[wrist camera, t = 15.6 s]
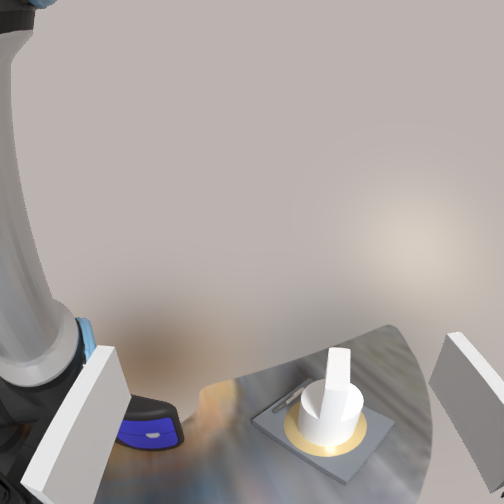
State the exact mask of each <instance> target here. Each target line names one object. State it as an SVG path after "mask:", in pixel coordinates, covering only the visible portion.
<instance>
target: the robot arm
mask: <svg viewBox="0 0 504 504" xmlns="http://www.w3.org/2000/svg"><path fill="white" fill-rule="evenodd" d="M56 1H57V0H0V504H93V503H94V500H95V497H96V494H97V490H98V487H99V484H100V481H101V479H102V476H103V473H104V470H105V467H106V464H107V461H108V458H109V456H110V453H111V450H112V447H113V444H114V442H115V439H116V436H117V434H118V431H119V428H120V425H121V423H122V420H123V418H124V415H125V412H126V410H127V407H128V405H129V402H130V399H131V395H130V392H129V389H128V386H127V384H126V381H125V377H124V374H123V371H122V368H121V365H120V362H119V359H118V355H117V352H116V349H115V347H112V346H102V345H98V346H97V347H96V344H95V339H94V335H93V331H92V326H91V323H90V321H89V320H88V319H86V318H79V317H78V318H74V316H73V314H72V313H71V312H70V310H69V309H68V308H67V307H66V306H65V305H64V304H62V303H61V302H59V301H57V300H55V299H53V298H52V295H51V292H50V290H49V287H48V284H47V282H46V279H45V275H44V272H43V269H42V266H41V263H40V260H39V257H38V253H37V250H36V246H35V243H34V239H33V236H32V232H31V228H30V224H29V220H28V216H27V212H26V208H25V203H24V198H23V193H22V188H21V183H20V177H19V171H18V165H17V158H16V151H15V143H14V134H13V123H12V109H11V83H10V82H11V79H10V78H11V76H10V75H11V62H12V60H13V58H14V56H15V55H16V54H17V52H18V51H19V50H20V49H21V48H22V46H23V45H24V44H25V43H26V42H27V41H28V40H29V38H30V37H31V36H32V34H33V25H34V17H35V11H36V9H45V8H46V7H47V6H49V5H52V4H54V3H55V2H56ZM429 385H430V386H431V388H432V390H433V391H434V392H435V394H436V396H437V397H438V399H439V401H440V403H441V404H442V406H443V408H444V409H445V411H446V413H447V414H448V416H449V417H450V419H451V421H452V423H453V424H454V426H455V428H456V430H457V431H458V433H459V435H460V437H461V438H462V440H463V442H464V444H465V446H466V447H467V449H468V451H469V453H470V455H471V457H472V458H473V460H474V462H475V464H476V466H477V468H478V470H479V472H480V474H481V475H482V478H483V479H484V481H485V483H486V485H487V487H488V489H489V491H490V493H493V492H494V491H496V490H498V489H499V488H501V487H503V486H504V382H503V380H502V379H501V378H500V377H499V375H498V374H497V373H496V372H495V371H494V369H493V368H492V367H491V366H490V365H489V364H488V362H487V361H486V360H485V359H484V358H483V357H482V355H481V354H480V353H479V352H478V351H477V350H476V349H475V348H474V346H473V345H472V344H471V343H470V342H469V341H468V340H467V339H466V338H465V336H464V335H463V334H462V333H461V332H455V333H449V334H447V335H446V338H445V341H444V343H443V346H442V349H441V352H440V355H439V357H438V360H437V363H436V365H435V368H434V370H433V373H432V375H431V378H430V381H429ZM503 497H504V492H503V493H502V496H501V498H503Z"/></svg>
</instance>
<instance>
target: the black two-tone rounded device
mask: <svg viewBox="0 0 504 504" xmlns="http://www.w3.org/2000/svg"><path fill="white" fill-rule="evenodd" d="M130 395H131V399H130V402H129V405H128V407H127V410H126V412H125V415H124V418H123V420H122V423H121V425H120V428H119V431H118V434H117V436H116V439H115V442H116V443H118V444H120V445H123V446H126V447H129V448H133V449H137V450H144V451H161V450H168V449H172V448H175V447H178V446H179V445H181V444H182V443H183V442H184V435H183V431H182V428H181V424H180V421H179V417H178V413H177V410H176V408H175V407H174V406H173V405H171V404H170V403H167V402H163V401H158V400H154V399H149V398H144V397H140V396H136V395H132V394H130Z"/></svg>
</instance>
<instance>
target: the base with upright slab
mask: <svg viewBox="0 0 504 504" xmlns="http://www.w3.org/2000/svg"><path fill="white" fill-rule="evenodd" d="M362 407H363V396H362V394H361V392H360V390H359V389H358V388H357V387H356V386H354V385H353V384H351V383H350V349H345V348H329V354H328V360H327V367H326V373H325V379H322V380H318V381H315V382H313V383H311V384H310V385H308V386H307V387H306V388H305V389H304V390H303V393H302V395H301V402H300V410H299V418H298V429H299V432H300V434H301V435H302V436H303V438H304V439H306V440H307V441H308V442H310V443H312V444H315V445H318V446H323V447H332V446H336V445H340V444H342V443H344V442H346V441H347V440H348V439H349V438H351V436H352V435H353V433H354V431H355V428H356V425H357V422H358V419H359V416H360V413H361V410H362Z"/></svg>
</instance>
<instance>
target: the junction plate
mask: <svg viewBox="0 0 504 504" xmlns="http://www.w3.org/2000/svg"><path fill="white" fill-rule="evenodd" d="M313 382H315V381H314V380H313V379H311V378H308V379H306V380H305V381H304V382H303V383H301V384H300V385H299V386H298V387H296V388H295V389H294V390H292V391H291V392H290V393H288V394H287V395H286V396H284V397H283V398H282V399H280V400H279V401H278V402H276V403H275V404H274V405H272V406H271V407H270V408H268V409H267V410H265V411H264V412H263V413H261V414H260V415H258V416H257V417H255V418H254V419H253V420H252V424H253V425H254V426H255V427H257V428H258V429H259V430H261V431H262V432H263V433H265V434H266V435H268V436H269V437H270V438H272V439H273V440H275V441H276V442H277V443H279V444H280V445H282V446H283V447H285V448H286V449H287V450H289V451H290V452H292V453H293V454H295V455H296V456H298V457H299V458H301V459H302V460H304V461H305V462H307V463H309V464H310V465H312V466H313V467H315V468H316V469H318V470H320V471H321V472H323V473H325V474H326V475H328V476H329V477H331V478H333V479H334V480H336V481H338V482H340V483H341V484H343V485H346V484H347V483H348V482H349V481H350V480H351V479H352V478H353V476H354V475H355V474H356V473H357V472H358V471H359V469H360V468H361V467H362V466H363V465H364V463H365V462H366V461H367V460H368V459H369V457H370V456H371V455H372V454H373V452H374V451H375V450H376V449H377V447H378V446H379V445H380V443H381V442H382V441H383V439H384V438H385V437H386V435H387V434H388V433H389V431H390V430H391V428H392V427H393V425H394V423H395V421H393V420H391V419H389V418H387V417H385V416H383V415H381V414H379V413H376V412H374V411H372V410H370V409H368V408H366V407H364V406H363V407H362V410H361V413H360V416H359V419H358V422H357V425H356V428H355V431H354V433H353V435H352V436H351V438H349V439H348V440H347V441H346V442H344V443H342V444H340V445H336V446H332V447H323V446H318V445H315V444H312V443H310V442H308V441H307V440H306V439H304V438H303V436H302V435H301V434H300V432H299V429H298V418H299V410H300V402H301V395H302V393H303V390H304V389H305V388H306V387H307V386H308V385H310V384H311V383H313Z"/></svg>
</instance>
